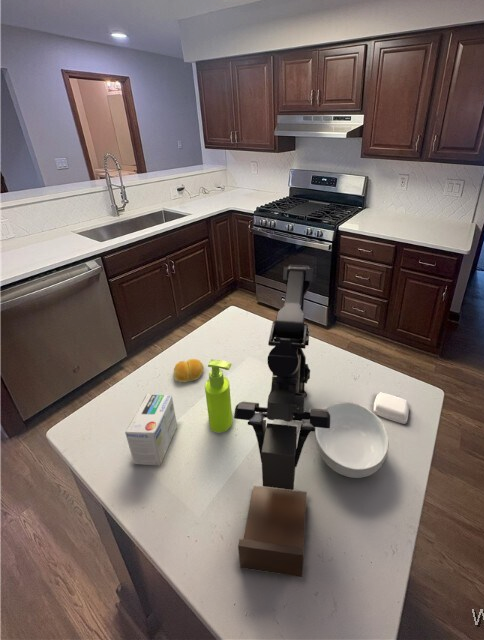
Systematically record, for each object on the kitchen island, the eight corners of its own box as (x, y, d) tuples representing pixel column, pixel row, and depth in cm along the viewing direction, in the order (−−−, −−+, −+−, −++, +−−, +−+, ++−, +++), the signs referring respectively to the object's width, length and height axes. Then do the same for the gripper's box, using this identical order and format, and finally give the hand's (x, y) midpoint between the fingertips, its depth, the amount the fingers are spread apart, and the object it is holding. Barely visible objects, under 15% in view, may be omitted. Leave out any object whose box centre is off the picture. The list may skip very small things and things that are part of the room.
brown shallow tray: (254, 494, 66) (253, 472, 63) (306, 500, 65) (307, 479, 62) (240, 568, 55) (238, 545, 52) (302, 577, 54) (303, 555, 51)
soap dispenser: (231, 435, 78) (225, 373, 71) (205, 430, 80) (197, 369, 72) (239, 415, 84) (235, 356, 76) (215, 411, 85) (208, 352, 77)
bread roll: (205, 378, 95) (204, 368, 94) (174, 386, 93) (173, 376, 91) (202, 361, 103) (200, 351, 101) (173, 367, 100) (172, 358, 98)
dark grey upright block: (267, 456, 66) (266, 422, 62) (296, 459, 65) (297, 425, 61) (262, 486, 60) (261, 452, 56) (293, 490, 60) (294, 455, 56)
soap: (372, 413, 85) (373, 405, 84) (376, 395, 90) (377, 387, 89) (407, 425, 81) (408, 417, 80) (408, 405, 87) (410, 398, 86)
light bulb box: (152, 424, 81) (146, 393, 77) (178, 425, 81) (172, 394, 77) (132, 465, 71) (123, 432, 67) (161, 466, 71) (154, 433, 67)
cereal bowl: (302, 433, 79) (303, 413, 76) (358, 413, 85) (360, 393, 82) (336, 503, 65) (338, 481, 62) (400, 472, 70) (405, 451, 68)
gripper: (233, 372, 59) (220, 470, 53) (333, 381, 57) (330, 483, 51) (245, 373, 69) (234, 455, 63) (329, 381, 67) (327, 466, 62)
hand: (278, 464), depth 60 cm, fingers closed on dark grey upright block, 6 cm apart
